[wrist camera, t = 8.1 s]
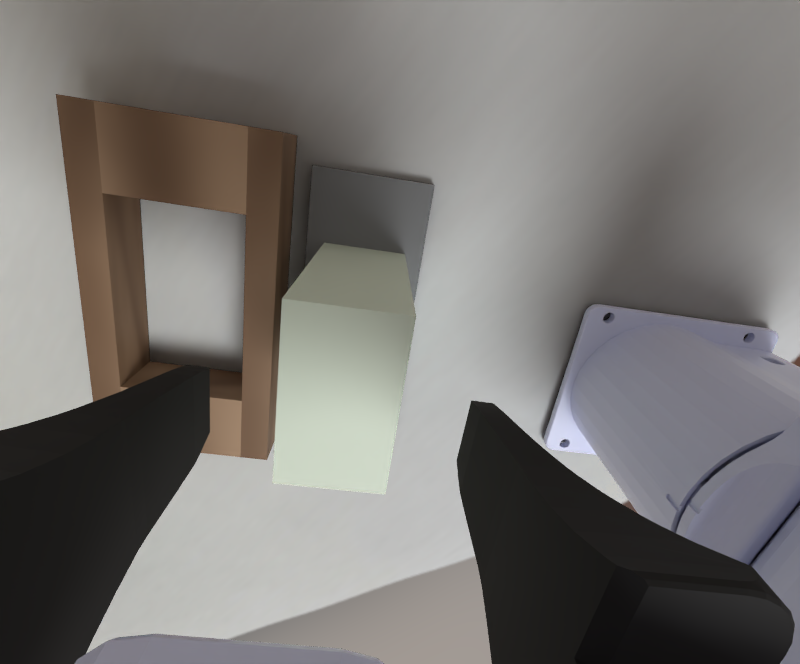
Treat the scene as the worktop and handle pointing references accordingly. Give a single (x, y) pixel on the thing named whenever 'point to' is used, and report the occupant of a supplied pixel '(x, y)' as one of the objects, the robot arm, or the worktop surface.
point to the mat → (369, 214)
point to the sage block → (342, 369)
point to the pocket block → (123, 248)
